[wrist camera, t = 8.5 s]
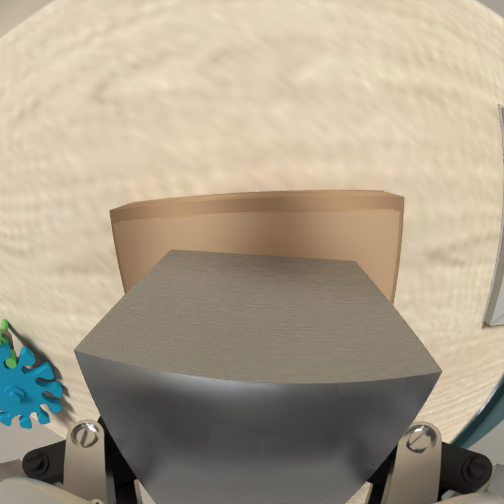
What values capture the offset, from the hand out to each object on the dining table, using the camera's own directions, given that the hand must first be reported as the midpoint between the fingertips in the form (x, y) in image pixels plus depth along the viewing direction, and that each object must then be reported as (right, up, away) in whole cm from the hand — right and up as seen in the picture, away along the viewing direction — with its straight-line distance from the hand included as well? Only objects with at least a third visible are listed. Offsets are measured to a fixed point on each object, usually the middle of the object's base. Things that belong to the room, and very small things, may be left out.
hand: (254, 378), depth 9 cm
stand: (0, +2, +5) cm, 5 cm away
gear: (-20, -6, +8) cm, 22 cm away
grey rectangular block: (0, 0, +1) cm, 1 cm away
